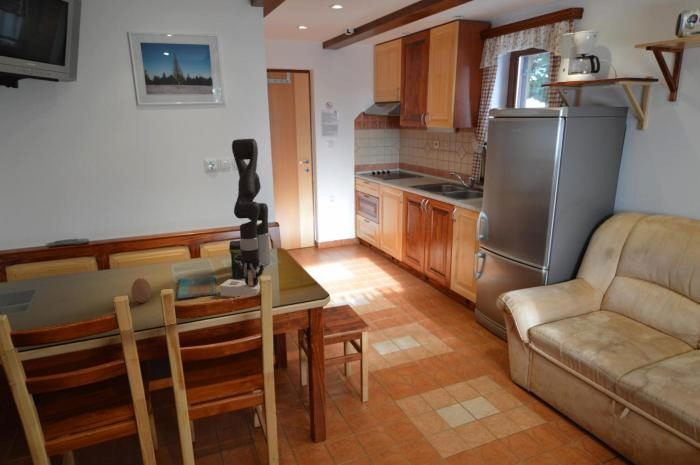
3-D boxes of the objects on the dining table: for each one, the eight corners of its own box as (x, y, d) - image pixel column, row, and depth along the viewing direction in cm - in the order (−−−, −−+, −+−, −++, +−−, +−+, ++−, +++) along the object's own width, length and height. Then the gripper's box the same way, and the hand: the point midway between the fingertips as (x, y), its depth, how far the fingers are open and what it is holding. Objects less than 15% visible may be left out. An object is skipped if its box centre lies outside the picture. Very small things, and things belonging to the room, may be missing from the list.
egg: (130, 302, 186) (127, 278, 184) (148, 297, 191) (145, 274, 189) (136, 307, 181) (133, 283, 178) (155, 302, 186) (152, 278, 183)
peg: (250, 289, 194) (249, 268, 192) (256, 289, 193) (255, 268, 191) (247, 291, 191) (246, 270, 189) (253, 292, 191) (252, 270, 188)
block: (229, 289, 200) (228, 279, 199) (265, 293, 196) (265, 282, 194) (220, 296, 192) (219, 285, 191) (257, 300, 188) (257, 289, 187)
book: (215, 279, 214) (215, 274, 214) (217, 297, 193) (217, 291, 192) (178, 283, 209) (177, 278, 208) (176, 302, 187) (175, 297, 187)
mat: (234, 279, 212) (234, 278, 212) (253, 281, 210) (253, 280, 210) (224, 287, 203) (223, 286, 203) (243, 289, 200) (243, 288, 200)
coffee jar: (251, 273, 221) (249, 238, 217) (250, 278, 214) (248, 242, 209) (232, 274, 220) (229, 239, 215) (230, 279, 212) (227, 243, 207)
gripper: (268, 245, 189) (269, 283, 194) (238, 243, 193) (241, 280, 197) (260, 250, 182) (262, 289, 187) (230, 248, 186) (233, 286, 190)
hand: (251, 284), depth 192 cm, fingers closed on peg, 3 cm apart
